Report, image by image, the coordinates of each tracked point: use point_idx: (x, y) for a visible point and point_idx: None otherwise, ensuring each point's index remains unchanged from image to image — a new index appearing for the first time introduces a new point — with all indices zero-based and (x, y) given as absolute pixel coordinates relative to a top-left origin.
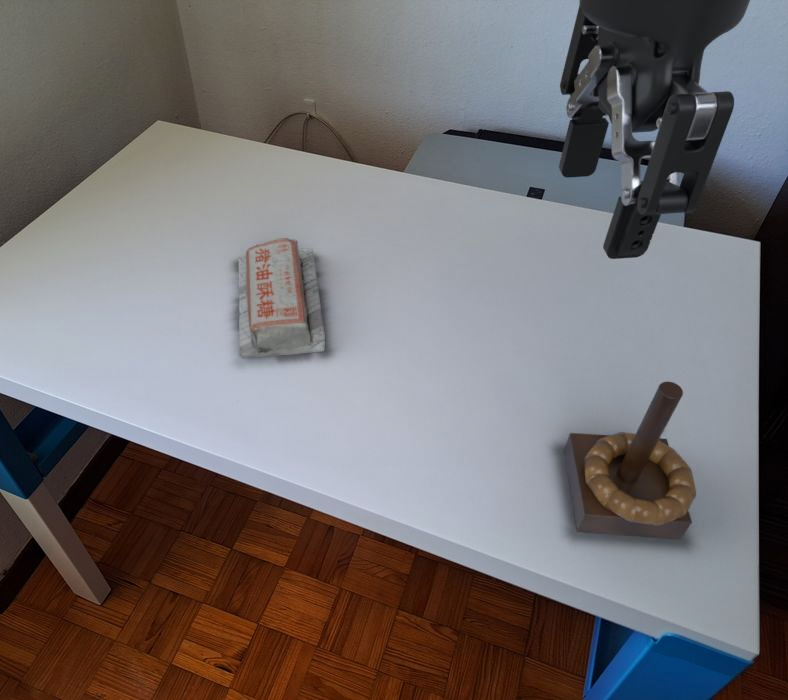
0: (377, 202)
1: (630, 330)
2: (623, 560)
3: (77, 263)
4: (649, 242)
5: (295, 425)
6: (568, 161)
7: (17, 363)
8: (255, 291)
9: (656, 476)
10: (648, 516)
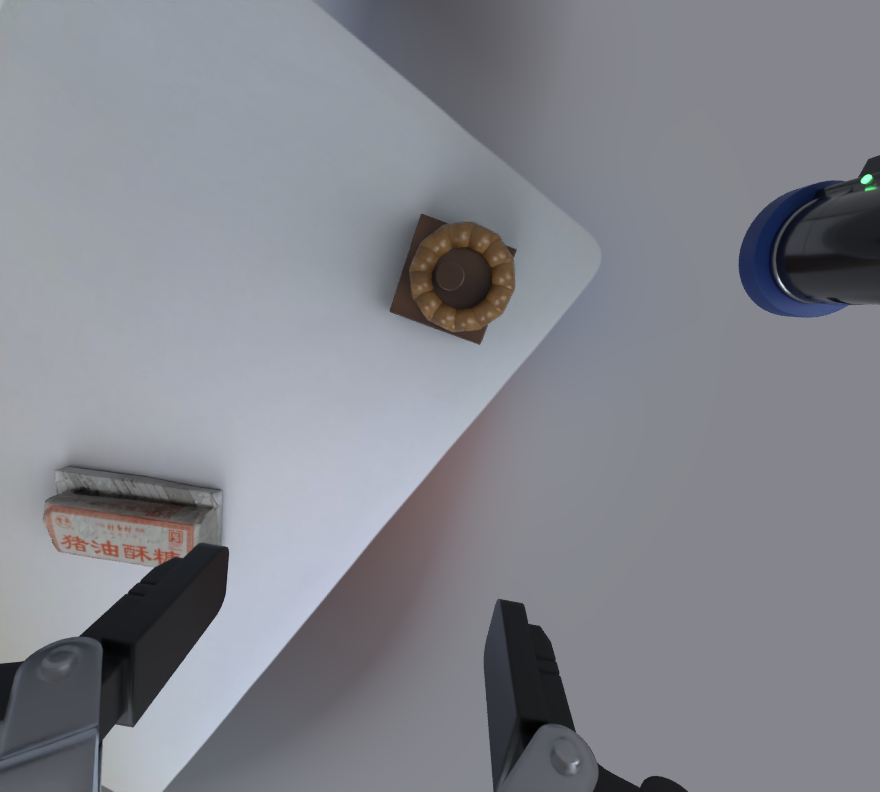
0: None
1: (244, 138)
2: (514, 315)
3: None
4: (555, 658)
5: (310, 534)
6: (202, 627)
7: (195, 730)
8: (137, 561)
9: (461, 253)
10: (508, 298)
